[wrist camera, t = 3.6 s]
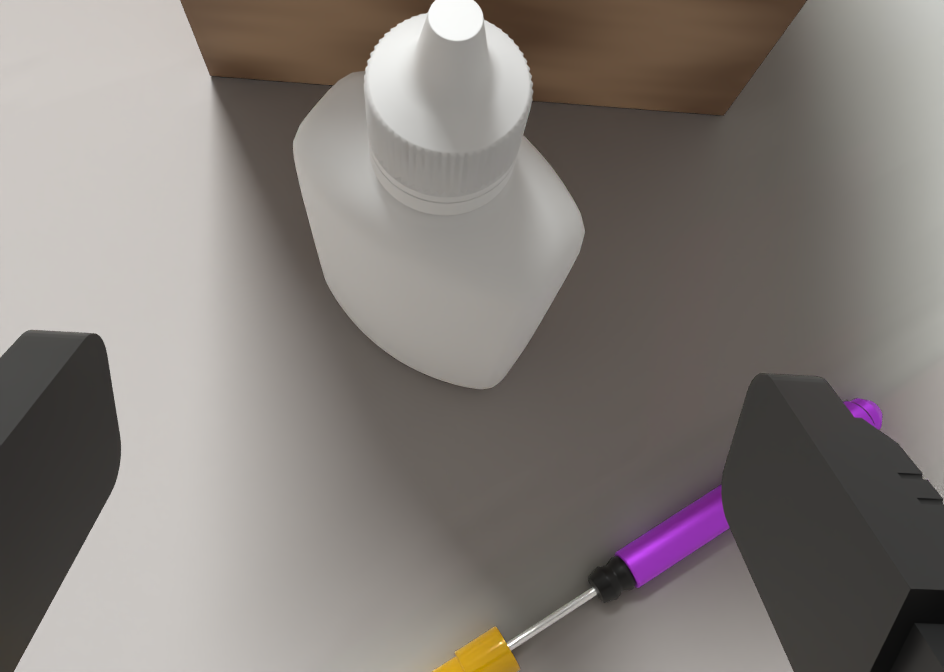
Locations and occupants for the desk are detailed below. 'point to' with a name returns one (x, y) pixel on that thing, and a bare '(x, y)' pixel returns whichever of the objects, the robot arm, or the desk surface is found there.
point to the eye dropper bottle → (438, 198)
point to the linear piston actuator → (625, 568)
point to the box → (535, 33)
